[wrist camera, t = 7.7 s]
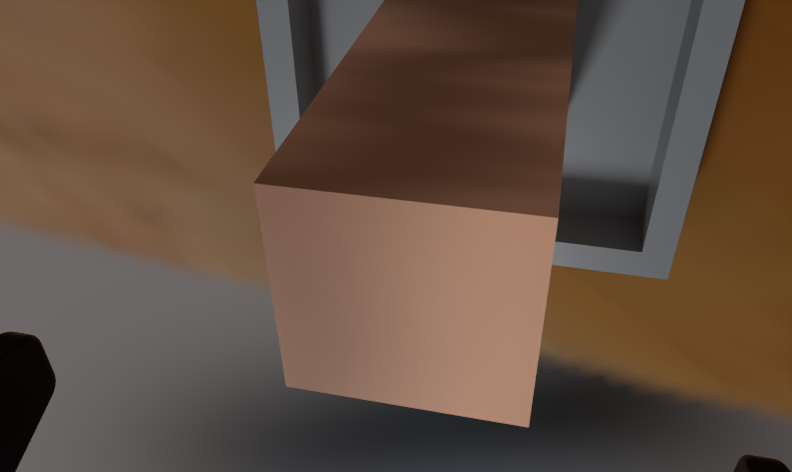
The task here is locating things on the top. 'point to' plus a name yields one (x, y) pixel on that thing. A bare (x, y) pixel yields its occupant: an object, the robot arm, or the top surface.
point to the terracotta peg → (424, 208)
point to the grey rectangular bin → (571, 112)
